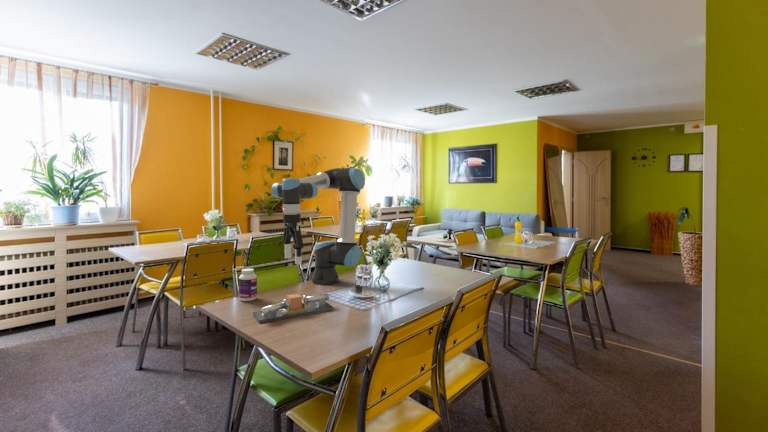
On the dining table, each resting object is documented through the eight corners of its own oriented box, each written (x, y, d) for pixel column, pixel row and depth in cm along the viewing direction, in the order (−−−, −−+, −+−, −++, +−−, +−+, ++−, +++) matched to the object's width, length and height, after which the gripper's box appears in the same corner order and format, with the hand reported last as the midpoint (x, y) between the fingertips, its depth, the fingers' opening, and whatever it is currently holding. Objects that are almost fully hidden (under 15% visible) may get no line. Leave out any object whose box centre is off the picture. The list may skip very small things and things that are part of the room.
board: (324, 303, 172) (324, 294, 171) (333, 309, 162) (333, 300, 162) (252, 315, 155) (252, 305, 155) (259, 323, 146) (258, 312, 145)
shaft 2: (305, 309, 159) (305, 296, 158) (301, 306, 163) (301, 293, 162) (329, 305, 165) (329, 292, 164) (325, 302, 169) (325, 290, 168)
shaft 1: (282, 310, 157) (282, 297, 156) (289, 313, 154) (289, 300, 153) (259, 318, 148) (258, 304, 147) (266, 320, 145) (265, 306, 144)
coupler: (286, 309, 159) (286, 295, 159) (297, 307, 162) (297, 293, 161) (290, 312, 155) (290, 298, 155) (301, 310, 158) (301, 296, 157)
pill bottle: (253, 302, 172) (252, 271, 171) (236, 301, 172) (235, 271, 171) (259, 296, 180) (259, 267, 179) (243, 296, 180) (242, 267, 179)
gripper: (274, 211, 171) (276, 256, 173) (293, 216, 150) (294, 267, 152) (290, 210, 175) (291, 254, 177) (310, 215, 154) (311, 265, 156)
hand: (293, 260), depth 165 cm, fingers open, 13 cm apart
